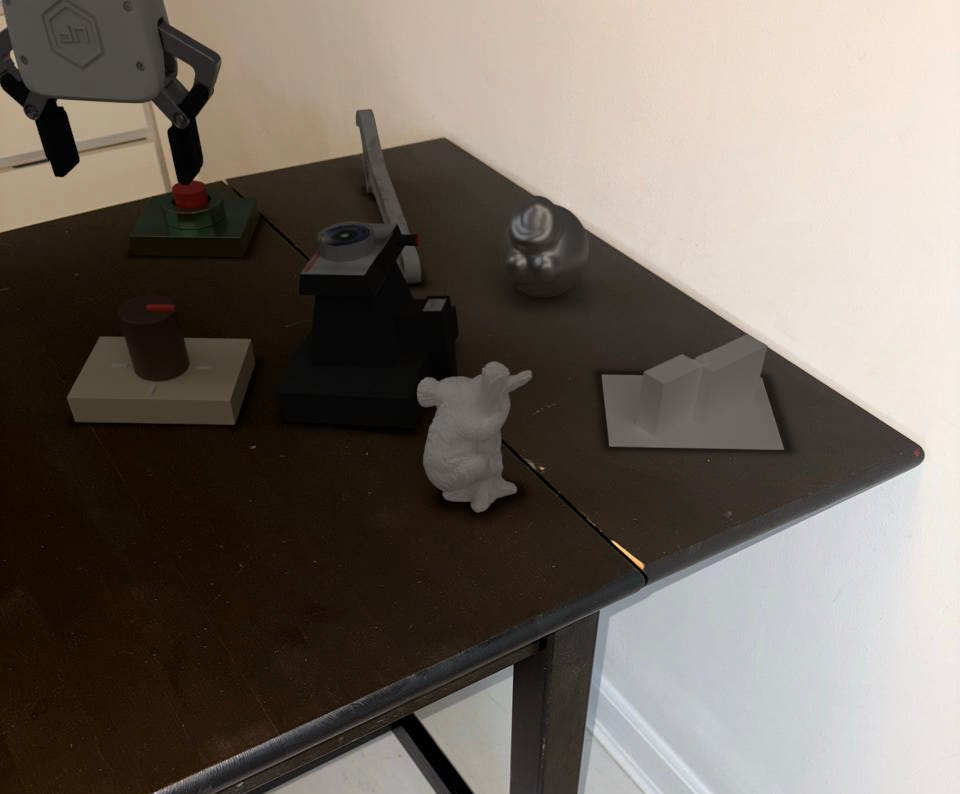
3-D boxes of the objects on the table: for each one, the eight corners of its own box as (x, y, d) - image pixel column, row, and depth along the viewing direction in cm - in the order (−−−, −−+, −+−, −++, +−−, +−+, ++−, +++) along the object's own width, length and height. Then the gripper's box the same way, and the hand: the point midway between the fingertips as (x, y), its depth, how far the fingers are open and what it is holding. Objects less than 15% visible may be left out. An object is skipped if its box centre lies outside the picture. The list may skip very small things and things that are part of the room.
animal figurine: (534, 478, 81) (542, 347, 72) (514, 530, 76) (520, 397, 67) (435, 461, 82) (431, 330, 73) (411, 511, 78) (402, 378, 69)
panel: (75, 422, 86) (65, 395, 84) (107, 360, 92) (99, 334, 91) (235, 425, 86) (229, 398, 84) (255, 362, 92) (250, 337, 90)
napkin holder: (761, 376, 91) (775, 319, 87) (786, 450, 84) (802, 391, 79) (599, 374, 91) (606, 317, 87) (609, 447, 84) (617, 389, 79)
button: (171, 210, 106) (168, 193, 105) (179, 196, 109) (175, 179, 107) (204, 210, 106) (201, 194, 105) (211, 196, 109) (208, 180, 107)
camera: (313, 190, 87) (478, 190, 84) (343, 339, 97) (491, 344, 94) (245, 274, 76) (430, 278, 73) (287, 430, 87) (451, 440, 83)
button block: (133, 255, 107) (124, 219, 104) (156, 215, 114) (148, 179, 111) (243, 257, 107) (237, 220, 104) (260, 216, 113) (254, 181, 111)
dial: (128, 380, 86) (110, 319, 81) (142, 351, 89) (125, 291, 85) (183, 381, 85) (167, 320, 81) (195, 352, 89) (181, 292, 84)
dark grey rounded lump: (478, 286, 103) (479, 189, 95) (554, 265, 106) (560, 169, 99) (525, 325, 97) (529, 225, 90) (603, 301, 101) (613, 202, 93)
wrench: (405, 312, 104) (358, 167, 121) (422, 310, 105) (372, 165, 122) (403, 242, 98) (353, 99, 115) (421, 240, 98) (369, 98, 115)
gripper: (-102, -97, 60) (-3, 187, 73) (169, -86, 59) (223, 202, 71) (-41, -122, 65) (42, 148, 78) (210, -113, 64) (253, 161, 76)
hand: (128, 174), depth 75 cm, fingers open, 9 cm apart
